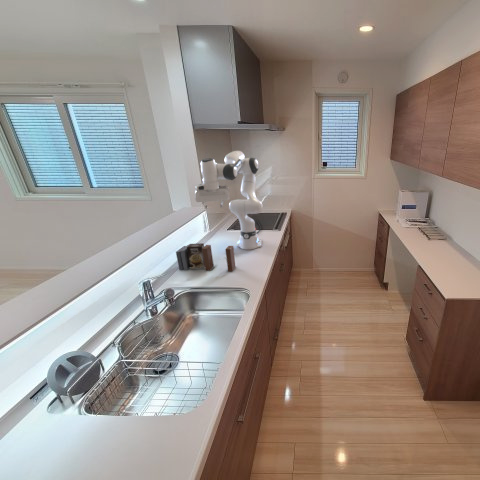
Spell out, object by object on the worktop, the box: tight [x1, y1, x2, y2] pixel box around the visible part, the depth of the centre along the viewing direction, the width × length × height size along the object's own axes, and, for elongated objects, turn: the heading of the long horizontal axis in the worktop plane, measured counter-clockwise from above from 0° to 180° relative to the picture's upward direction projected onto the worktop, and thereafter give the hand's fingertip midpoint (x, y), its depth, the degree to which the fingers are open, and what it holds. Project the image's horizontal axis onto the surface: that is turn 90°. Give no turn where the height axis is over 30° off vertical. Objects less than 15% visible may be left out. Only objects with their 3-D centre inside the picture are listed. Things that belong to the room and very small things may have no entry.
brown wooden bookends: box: [202, 244, 236, 272], centre depth 163 cm, size 6×18×16 cm, turn 89°
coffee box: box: [186, 243, 205, 270], centre depth 165 cm, size 9×6×16 cm
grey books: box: [175, 244, 191, 271], centre depth 166 cm, size 10×6×14 cm, turn 179°
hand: (213, 207), depth 158 cm, fingers open, 8 cm apart
